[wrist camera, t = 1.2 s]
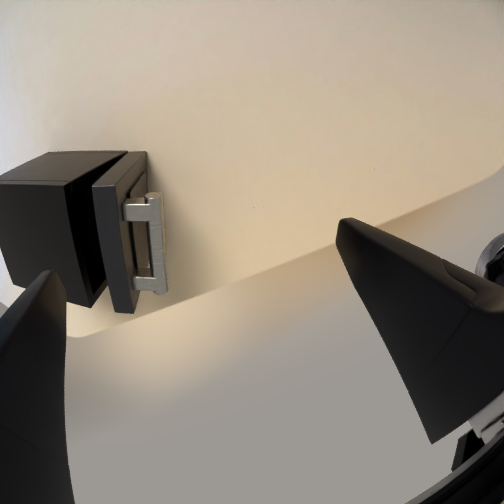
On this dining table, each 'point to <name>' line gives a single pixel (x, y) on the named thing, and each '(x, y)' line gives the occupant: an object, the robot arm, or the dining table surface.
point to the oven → (55, 221)
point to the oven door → (130, 232)
